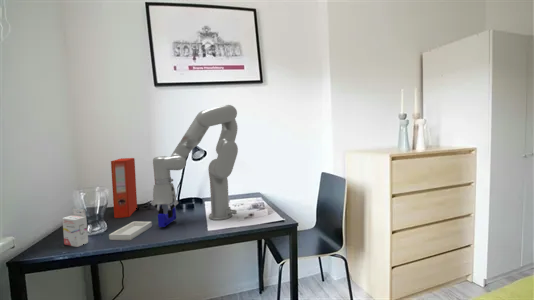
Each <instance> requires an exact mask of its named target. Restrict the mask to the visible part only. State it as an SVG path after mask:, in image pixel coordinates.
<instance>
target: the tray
mask: <svg viewBox="0 0 534 300" xmlns="http://www.w3.org/2000/svg"><path fill="white" fill-rule="evenodd" d="M152 227H153V222H152V221H132V222H130V223H128V224H126V225H124V226H122V227H120V228H118V229H117V230H115V231H113V232H111V233H109V234H108V238H109V239H108V240H109V241H132V240H133V239H135V238H137V237H138V236H140V235H141V234H143V233H144V232H146V231H148V230H149V229H151V228H152Z"/></svg>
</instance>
